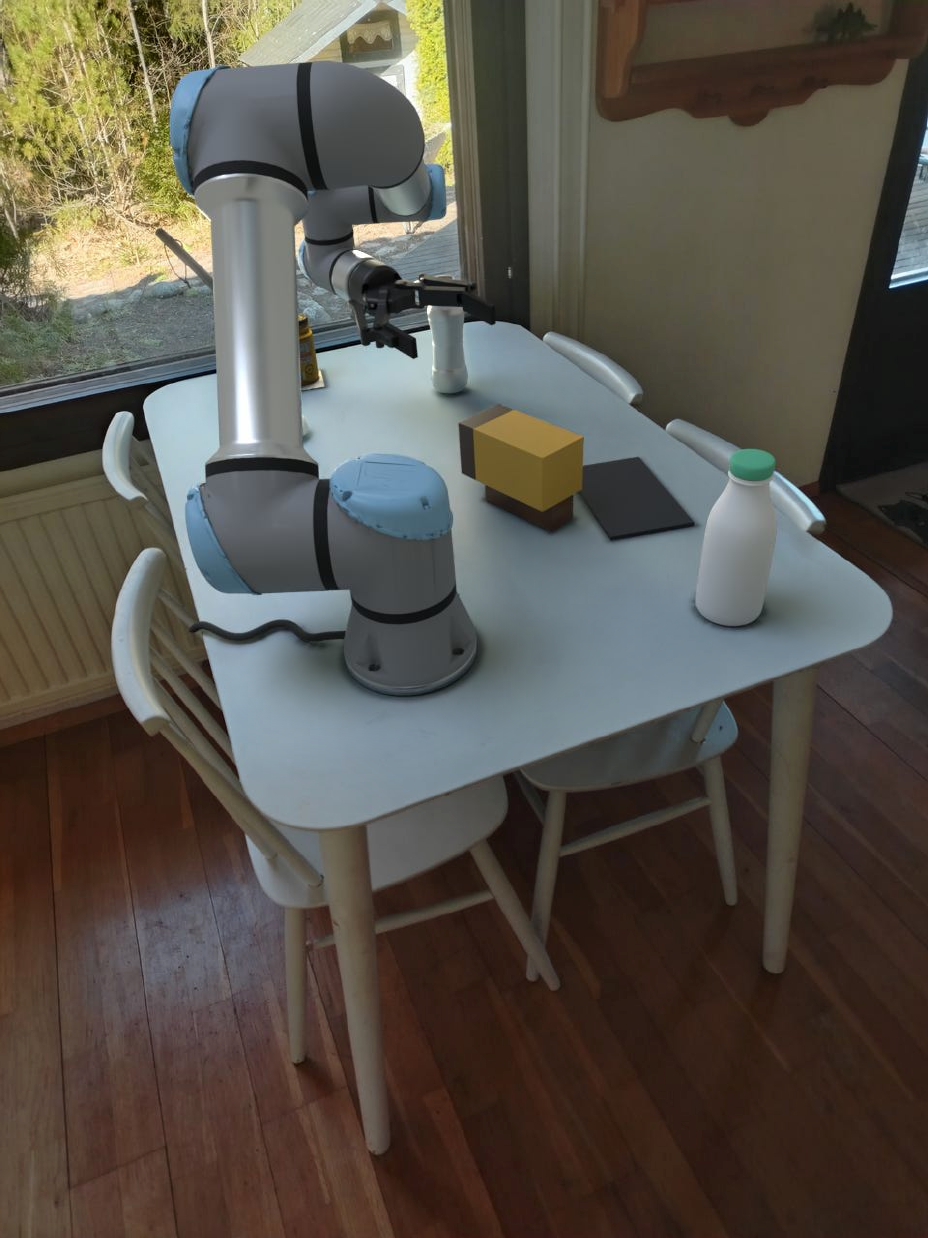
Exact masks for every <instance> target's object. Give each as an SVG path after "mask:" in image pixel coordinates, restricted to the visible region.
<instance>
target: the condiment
mask: <svg viewBox="0 0 928 1238" xmlns="http://www.w3.org/2000/svg"><path fill="white" fill-rule="evenodd" d="M298 326H299V351H300V376H301V391H305V390H312V389H319V388H324V387H325V383H324V379H323V375H322V370H321V369H319V366H318V365H319V364H318V360H317V352H316V347H315V341H314V333H313V331H312V330H311V328H310V323H309V318H308V316H307V315H306V314H305V313H304V314H303V313H298Z"/></svg>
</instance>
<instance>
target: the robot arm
mask: <svg viewBox="0 0 928 1238" xmlns="http://www.w3.org/2000/svg"><path fill="white" fill-rule="evenodd" d="M169 111H170V113H169V141H170V146H171V147H170V148H171V149H172V150H173V157H172V159H173V160H172V161H173V166H174V169H175V172H176V175H177V178H178V180H179V182H180V185H181V186H182V188H183V190H184V191H185V192H186V193H187V194H188V195H189V196H191V197H193V199H194V204H195V206H196V208H197V210H198V211H199V212H200V213H201V214H202V215H203V216H204V217H205V218H206V219H207V220H208V221H210V236H211V237H210V240H211V241H210V244H211V269H212V291H213V292H212V293H213V295H212V296H213V316H214V317H213V318H214V340H215V341H214V343H215V365H216V366H215V367H216V369H215V370H216V391H217V392H216V394H217V415H218V418H217V419H218V440H219V441H218V442H219V443H218V445H219V447H218V448H217V450H216V451H215V453H214V454H212V455H211V456H210V457H209V459H207V461H205V463H204V473H205V475H204V477H205V480H204V481H205V482H199V483H197V484H196V485H193V486H191V487H190V489H189V490H188V491H187V494H186V500H187V501H186V502H185V506H184V517H185V518H184V519H185V527H186V533H187V538H188V543H189V545H190V549H191V553H192V556H193V559H194V561H195V564H196V566H197V568H198V569H199V572H200V573H201V575H202V577H203V578H204V580H205V581H206V582H207V584H209V585H210V587H212V588H213V589H215V590H216V591H218V592H220V593H223V594H229V595H230V594H231V595H233V594H234V595H235V594H236V595H239V594H240V595H245V594H246V595H249V594H250V595H252V596H262V595H264V594H282V593H284V594H285V593H286V594H287V593H306V592H307V593H309V592H327V591H349V595H350V600H351V601H350V602H351V607H350V611H349V616H348V620H347V624H346V629H345V630H332V631H331V630H330V631H322V632H314V633H311V632H306V631H305V630H303V628H301V627H300V625H299V624H297V623H296V622H294V621H292V620H289V619H284V618H281V619H280V618H279V619H274V620H270V621H268V622H265V623H262V624H261V625H259V626H257V627H256V628H253V629H251V630H249V631H245V632H233V631H229V630H226V629H223V628H221V627H219V626H217V625H216V624H213V623H211V622H209V621H205V620H200V621H196V622H194V623H193V624H191V626H190V627H189V628H188V632H189V633H192V634H194V633H197V632H199V631H200V630H204V631H208V632H210V633H211V634H214V635H215V636H217V637H220V638H222V639H224V640H226V641H227V640H228V641H232V642H245V641H246V642H247V641H250V640H253V639H255V638H258V637H260V636H261V635H263V634H266V633H267V632H269V631H272V630H275V629H279V628H281V629H282V628H283V629H288V630H290V631H291V632H292V633H293V634H294V635H295V636H296V637H297V638H299V639H301V640H302V641H305V642H308V643H309V642H310V643H317V642H324V641H336V640H343V654H344V659H345V665H346V668H347V670H348V672H349V674H350V675H351V676H352V678H353V679H355V681H356V682H358V683H359V684H360V685H362V686H364V687H366V688H368V690H371V691H374V692H377V693H381V694H385V695H391V696H418V695H422V694H423V695H424V694H427V693H431V692H434V691H435V692H436V691H438V690H440V689H443V688H444V687H447V686H449V685H450V684H453V683H454V682H456V681H458V679H460V678H461V677H462V676H464V675H465V674H466V672H468V670H469V669H470V668H471V667H472V665H473V663H474V661H475V659H476V656H477V651H478V643H477V642H478V641H477V633H476V630H475V625H474V623H473V621H472V618H471V617H470V615H469V613H468V611H467V608H466V606H465V605H464V603H463V601H462V599H461V595H460V593H459V592H458V591H457V576H456V567H455V566H456V565H455V555H454V541H453V531H452V530H453V529H452V528H453V525H454V514H453V512H452V509H451V504H450V497H449V491H448V487H447V486H448V485H447V484H446V482H445V480H444V478H443V477H442V476H441V474H440V473H439V472H438V471H437V470H436V469H435V468H433V467H431V466H429V465H427V464H426V463H425V462H424V461H422V460H419V459H416V458H414V457H410V456H406V455H401V454H395V453H368V454H367V453H366V454H362V455H359V456H358V458H352V457H351V458H349V459H346V460H345V461H342V462H341V463H340V464H338V465H337V467H335V469H334V470H333V472H332V473H331V477H330V478H320V469H319V468H320V467H319V462H318V461H317V460H315V459H314V458H313V457H312V455H310V453H308V451H306V449H305V448H304V436H303V426H302V415H303V404H302V403H303V401H302V390H301V376H300V351H299V326H298V314H299V309H298V308H299V306H298V305H299V303H298V280H297V265H298V267H299V270H300V272H301V273H302V274H303V276H305V278H307V279H308V280H309V281H311V282H312V283H313V284H314V285H315V286H316V287H318V288H320V289H324V290H325V291H328V292H329V293H331V294H333V295H335V296H337V297H338V298H340V299H342V300H343V301H345V302H346V303H347V304H348V305H347V306H348V310H349V317H350V319H351V320H352V321H353V322H355V323H356V328H357V330H358V334H359V339H360V343H361V346H363V347H369V346H370V345H371V342H374V343H375V348H376V349H383V348H385V347H387V348H390V349H396V350H397V351H398V352H400V353H402V354H404V355H406V356H407V357H409V358H411V359H412V360H416V359H417V358H419V355H418V345H417V338H416V337H414V336H413V335H411V334H410V333H408V332H406V331H405V330H402V329H401V328H399V327H397V326H396V325H394V324H392V323H390V320H391V316H392V315H393V314H394V315H398V314H400V313H402V312H404V311H407V310H410V309H412V310H413V309H414V310H423V309H424V308H425V307H428V306H445V307H463V311H464V312H465V314H468V315H470V316H471V317H474V318H476V319H478V320H480V321H482V322H484V323H485V324H488V325H490V326H494V325H496V324H497V321H496V305H495V304H493V303H491V302H490V301H488V300H486V299H485V298H483V297H481V296H480V295H478V283H477V282H475V281H468V280H461V279H455V278H454V279H447V278H440V277H436V276H433V275H431V274H429V273H424V272H420V273H418V274H417V280H415V281H411V280H405V279H403V278H402V277H401V275H400V273H399V272H398V271H397V270H396V269H395V268H394V267H392V266H390V265H389V264H387V263H384V262H382V261H380V260H378V259H377V258H375V257H373V256H372V255H370V254H368V253H365V252H363V251H360V250H359V249H357V248H356V243H355V236H354V232H355V231H354V228H353V227H354V226H359V225H363V226H364V225H377V224H390V223H391V224H392V223H394V224H395V223H410V222H411V223H413V222H421V223H427V222H429V221H438V220H442V219H444V218H445V217H446V216H447V212H448V211H447V210H448V209H447V207H448V206H447V187H446V186H447V185H446V175H445V174H446V173H445V169H444V167H443V166H442V165H441V164H440V163H427V162H425V160H424V154H425V150H426V149H425V148H426V138H425V137H426V136H425V132H424V127H423V123H422V121H421V117H420V115H419V113H418V111H417V109H416V108H415V106H414V105H413V104H412V102H411V101H410V100H409V99H408V97H406V95H405V94H404V93H403V92H401V90H399V89H398V88H397V87H396V86H394V85H392V84H391V83H390V82H388V81H387V80H385V79H383V78H382V77H380V76H379V75H377V74H374V73H373V72H371V71H368V70H366V69H365V68H361V67H359V66H356V65H353V64H350V63H346V62H341V61H335V60H327V59H326V60H313V61H307V62H293V63H279V64H266V65H252V66H240V67H232V66H230V65H225V64H224V65H216V66H214V67H213V68H207V69H200V70H193V71H191V72H189V73H187V74H186V75H184V76H183V77H182V78H181V79H180V80H179V81H178V83H177V85H176V87H175V89H174V92H173V95H172V99H171V104H170V110H169ZM300 222H301V225H302V229H303V236H304V238H303V239H302V241H301V242H300V245H299V248H298V253H297V254H296V251H297V250H296V231H295V229H296V228H295V227H296V226H297V225H298V224H299V223H300ZM416 292H417V295H418V301H416ZM366 314H367V315H368V316H370V317H374V319H373V323H372V326H371V327H369V324H368V321H367V318H366Z"/></svg>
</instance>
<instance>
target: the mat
mask: <svg viewBox="0 0 928 1238" xmlns="http://www.w3.org/2000/svg"><path fill="white" fill-rule="evenodd" d="M577 493H578V494H579V496H580V498H581V499H582V501H583V502H584V503H585V505H586V506H587V508H588V509H589V511H590V512H591V514H592V515H593V517H594V518H595V520H596V521H597V523H598V524H599V525H600V527H601V528H602V530H603V532H604V533H605V534H606V536H607V537H608V539H609V541H616V540H621V539H626V538H632V537H633V538H634V537H637V536H643V535H649V534H654V533H660V532H661V533H662V532H666V531H671V530H676V529H684V528H688V527H694V526H695V521H694V519H692V518H691V517H690V515H689V514H688V513H687V512H686V510H685V509H684V508H683V507H682V506H681V505H680V503H679V502H678V501H677V500H676V499H675V498H674V496H673V495H672V494H671V493H670V492H669V491H668V489H667V488H666V487H665V486H664V484H662V482H661V481H660V480H659V479H658V477H657V476H655V474H654V473H653V472H652V471H651V470H650V468H649V467H648V466H647V464H645V463H644V461H643V460H642V459H641V458H640V456H635V457H629V458H622V459H617V460H616V459H615V460H610V461H605V462H598V463H597V462H596V463H592V464H586V465H583V474H582V490H580V491H578V492H577Z"/></svg>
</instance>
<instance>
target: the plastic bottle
mask: <svg viewBox="0 0 928 1238" xmlns="http://www.w3.org/2000/svg"><path fill="white" fill-rule="evenodd" d="M435 277H440V278H447V279H454V280H455V276H454V275H450V274H440V275H436V276H435ZM426 314H427V319H428V325H429V330H430V334H431V341H432V367H431V368H432V369H431V382H432V386H433V388H434V389H435V390H436V391H437V392H438V393H442V394H455V393H459V392H461V391H463V390H464V389H466V386H467V385H468V381H469V371H468V368H467V364H466V357H465V352H464V350H465V349H464V324H465V314H466V312H464V311H463V307H445V306H427V309H426Z"/></svg>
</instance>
